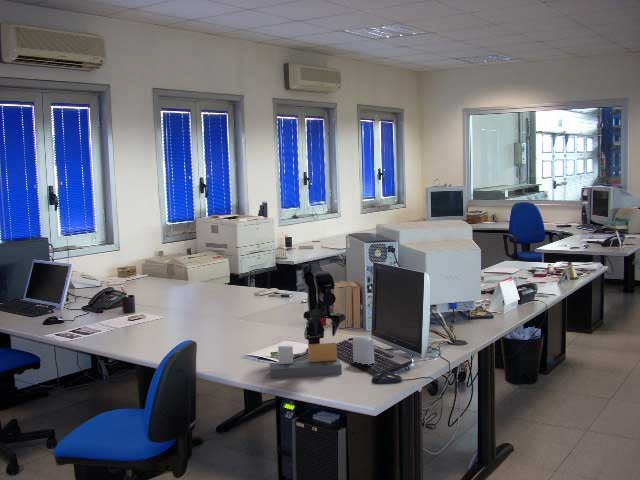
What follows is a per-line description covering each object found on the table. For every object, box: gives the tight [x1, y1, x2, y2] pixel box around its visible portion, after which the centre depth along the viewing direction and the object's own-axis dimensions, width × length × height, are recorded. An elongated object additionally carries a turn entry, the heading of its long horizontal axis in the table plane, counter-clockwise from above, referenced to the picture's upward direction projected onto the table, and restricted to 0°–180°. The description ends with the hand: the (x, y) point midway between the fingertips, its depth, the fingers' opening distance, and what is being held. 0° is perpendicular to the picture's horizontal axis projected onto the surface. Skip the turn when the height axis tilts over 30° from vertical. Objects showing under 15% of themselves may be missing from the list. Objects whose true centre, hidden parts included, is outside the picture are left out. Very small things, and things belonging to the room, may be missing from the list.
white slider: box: [277, 345, 294, 364], centre depth 294 cm, size 3×6×7 cm, turn 97°
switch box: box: [268, 358, 343, 380], centre depth 293 cm, size 10×30×4 cm, turn 97°
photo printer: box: [352, 335, 375, 366], centre depth 304 cm, size 10×4×12 cm, turn 47°
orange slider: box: [307, 342, 338, 362], centre depth 296 cm, size 3×12×7 cm, turn 97°
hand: (324, 334), depth 307 cm, fingers open, 9 cm apart
